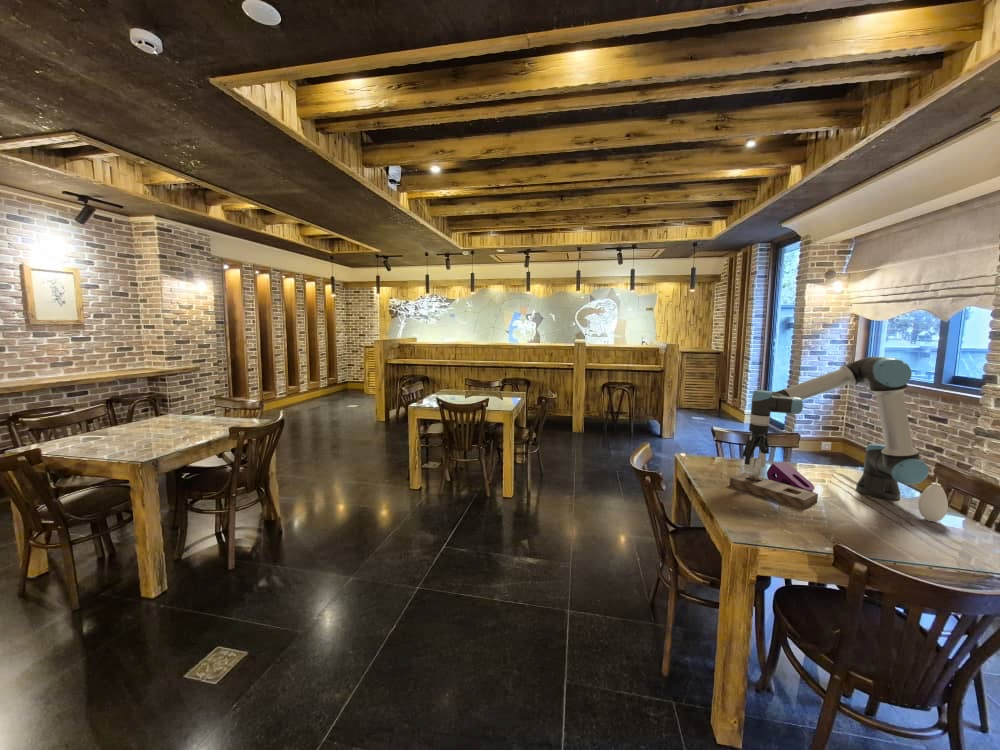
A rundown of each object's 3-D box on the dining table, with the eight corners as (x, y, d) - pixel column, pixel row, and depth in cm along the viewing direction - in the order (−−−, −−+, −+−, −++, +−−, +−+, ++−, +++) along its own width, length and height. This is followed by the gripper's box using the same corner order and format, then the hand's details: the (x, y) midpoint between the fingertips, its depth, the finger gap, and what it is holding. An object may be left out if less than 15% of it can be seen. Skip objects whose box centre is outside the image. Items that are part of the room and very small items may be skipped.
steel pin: (759, 488, 192) (762, 459, 191) (755, 490, 190) (758, 460, 189) (750, 485, 196) (753, 456, 194) (746, 487, 193) (749, 458, 192)
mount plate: (817, 502, 178) (818, 493, 177) (803, 509, 170) (804, 500, 170) (744, 480, 202) (745, 472, 202) (729, 485, 195) (730, 477, 194)
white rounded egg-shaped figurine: (912, 517, 165) (918, 474, 164) (923, 515, 168) (929, 472, 166) (938, 526, 158) (945, 481, 156) (949, 524, 161) (956, 479, 159)
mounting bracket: (808, 501, 194) (777, 474, 208) (818, 489, 190) (786, 461, 204) (794, 503, 191) (763, 475, 205) (804, 491, 186) (772, 463, 201)
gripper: (763, 419, 200) (758, 462, 202) (736, 424, 186) (732, 470, 188) (780, 423, 193) (775, 467, 196) (754, 428, 180) (749, 475, 182)
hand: (754, 468), depth 192 cm, fingers open, 13 cm apart
